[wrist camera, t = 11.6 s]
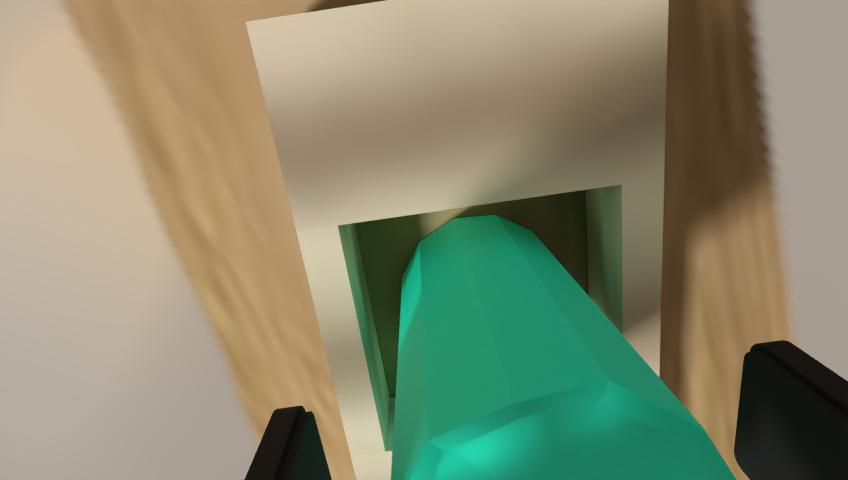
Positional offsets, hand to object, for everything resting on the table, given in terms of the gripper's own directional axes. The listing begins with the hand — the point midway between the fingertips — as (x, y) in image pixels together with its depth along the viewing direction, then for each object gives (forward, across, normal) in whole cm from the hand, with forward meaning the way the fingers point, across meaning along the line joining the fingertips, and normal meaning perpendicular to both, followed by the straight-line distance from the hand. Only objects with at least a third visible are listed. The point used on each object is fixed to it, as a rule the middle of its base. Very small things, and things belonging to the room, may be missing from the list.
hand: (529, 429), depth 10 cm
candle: (+8, 0, 0) cm, 8 cm away
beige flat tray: (+8, 0, +1) cm, 8 cm away
